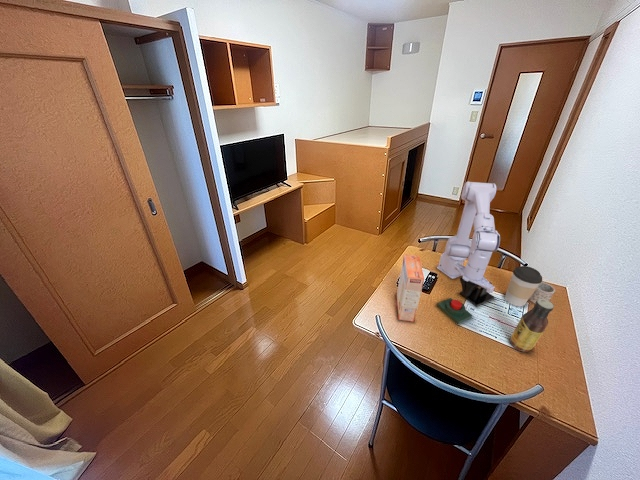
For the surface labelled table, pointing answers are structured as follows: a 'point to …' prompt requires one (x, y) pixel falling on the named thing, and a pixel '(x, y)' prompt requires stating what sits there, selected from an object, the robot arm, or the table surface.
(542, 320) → the sauce bottle
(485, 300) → the bracket
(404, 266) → the cracker box
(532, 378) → the table surface
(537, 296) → the mug
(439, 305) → the block
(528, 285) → the coffee cup
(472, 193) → the robot arm
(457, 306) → the button
